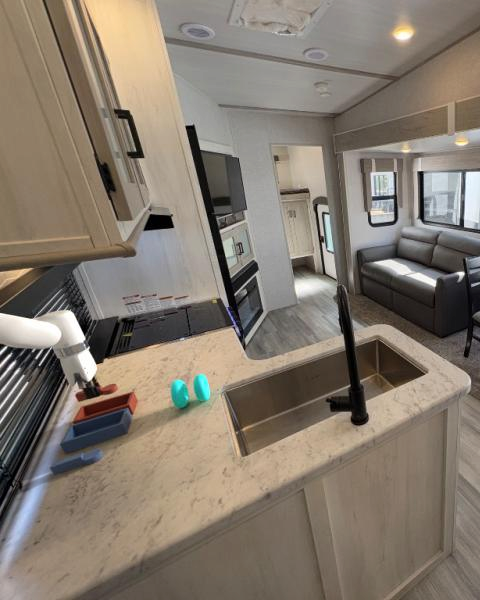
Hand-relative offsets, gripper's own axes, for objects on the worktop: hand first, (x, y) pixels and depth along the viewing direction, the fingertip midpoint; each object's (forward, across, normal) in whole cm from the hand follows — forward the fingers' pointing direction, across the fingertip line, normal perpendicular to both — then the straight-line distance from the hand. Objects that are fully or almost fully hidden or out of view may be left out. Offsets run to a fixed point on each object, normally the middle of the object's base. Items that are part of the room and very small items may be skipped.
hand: (95, 395), depth 105 cm
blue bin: (+9, +11, +1) cm, 14 cm away
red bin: (+9, 0, +1) cm, 9 cm away
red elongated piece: (0, 0, +1) cm, 1 cm away
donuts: (+9, +10, +27) cm, 30 cm away
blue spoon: (+9, +23, -1) cm, 25 cm away
